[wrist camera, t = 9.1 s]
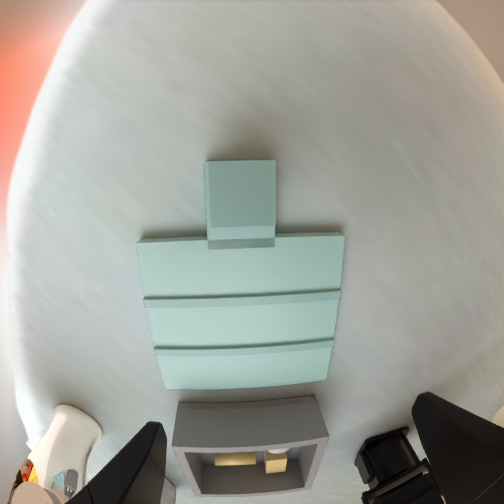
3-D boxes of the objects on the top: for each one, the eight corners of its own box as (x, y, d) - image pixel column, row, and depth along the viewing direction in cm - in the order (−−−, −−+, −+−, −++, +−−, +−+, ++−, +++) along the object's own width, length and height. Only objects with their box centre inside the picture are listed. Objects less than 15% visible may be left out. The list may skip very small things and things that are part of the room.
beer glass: (118, 437, 23) (89, 548, 9) (82, 442, 23) (51, 534, 9) (74, 396, 21) (22, 511, 7) (42, 405, 21) (-5, 498, 7)
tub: (314, 394, 22) (329, 436, 18) (302, 455, 26) (310, 488, 21) (178, 402, 21) (171, 446, 17) (196, 461, 25) (195, 496, 20)
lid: (341, 162, 17) (374, 163, 12) (322, 372, 22) (338, 409, 17) (134, 167, 16) (105, 169, 12) (167, 380, 21) (158, 420, 17)
